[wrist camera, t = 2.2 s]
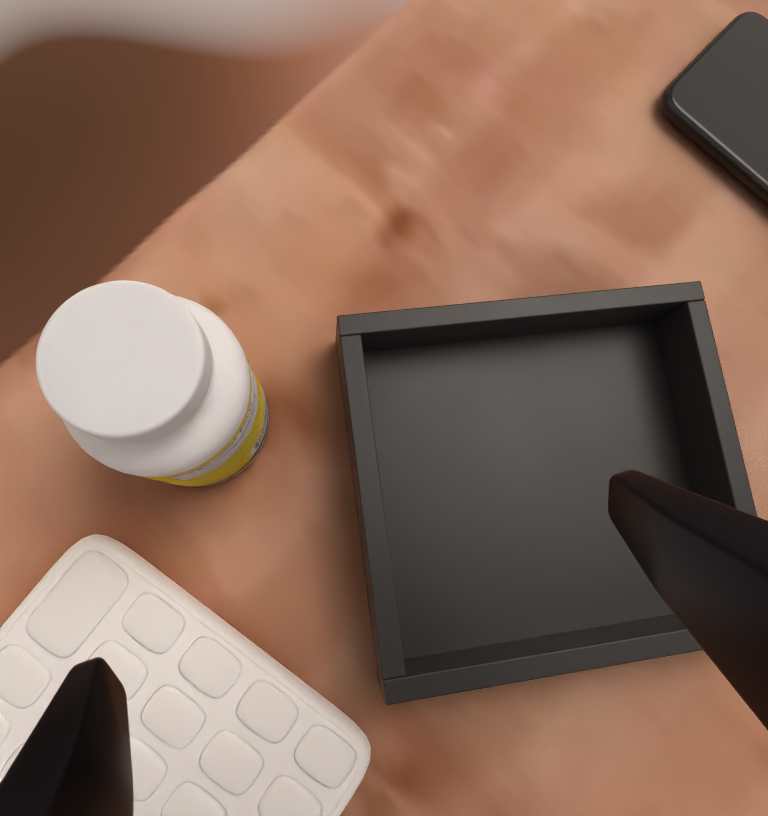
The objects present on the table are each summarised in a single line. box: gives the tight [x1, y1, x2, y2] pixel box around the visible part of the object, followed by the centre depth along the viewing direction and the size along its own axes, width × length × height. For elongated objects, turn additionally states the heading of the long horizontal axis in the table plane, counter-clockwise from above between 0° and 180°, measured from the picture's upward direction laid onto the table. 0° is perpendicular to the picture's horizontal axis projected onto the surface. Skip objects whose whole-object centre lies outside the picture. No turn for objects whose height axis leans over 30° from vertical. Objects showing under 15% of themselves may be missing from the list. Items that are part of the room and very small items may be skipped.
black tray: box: [336, 281, 757, 705], centre depth 24 cm, size 14×15×3 cm
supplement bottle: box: [36, 280, 269, 487], centre depth 19 cm, size 5×5×10 cm
